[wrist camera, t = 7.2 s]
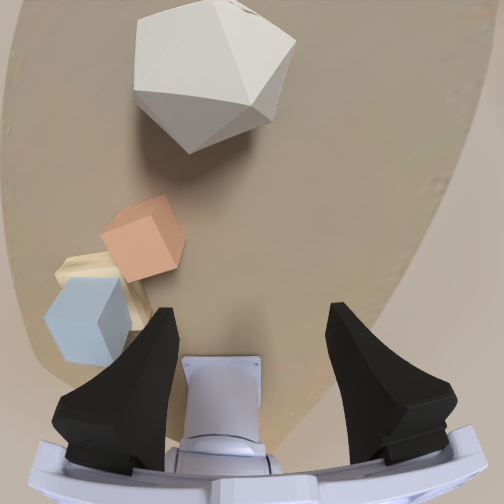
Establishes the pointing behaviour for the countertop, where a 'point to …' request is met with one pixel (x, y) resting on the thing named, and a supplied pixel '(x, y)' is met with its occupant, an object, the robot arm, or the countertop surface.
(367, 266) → the countertop surface
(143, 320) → the beech base
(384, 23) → the countertop surface
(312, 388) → the countertop surface
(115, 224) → the terracotta block
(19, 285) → the countertop surface
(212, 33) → the die
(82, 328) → the blue block
